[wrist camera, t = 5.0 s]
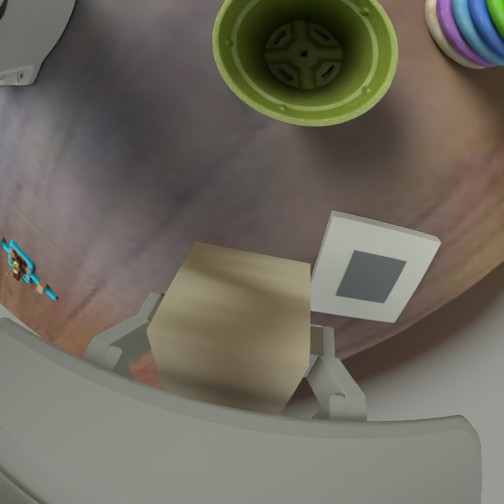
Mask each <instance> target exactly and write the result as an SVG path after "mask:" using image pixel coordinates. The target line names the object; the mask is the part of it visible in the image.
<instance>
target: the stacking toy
mask: <svg viewBox="0 0 504 504" xmlns="http://www.w3.org/2000/svg"><path fill="white" fill-rule="evenodd" d="M425 18H426V22H427V26H428V28H429V31H430V33H431V35H432V37H433V38H434V40H435V41H436V43H437V44H438V45H439V47H440V48H441V49H442V50H443V51H444V52H445V53H446V54H447V55H448V56H449V57H450V58H451V59H453V60H454V61H456V62H457V63H459V64H461V65H463V66H465V67H468V68H472V69H484V68H487V67H496V66H498V65H500V66H504V0H426V3H425Z"/></svg>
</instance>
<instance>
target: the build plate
mask: <svg viewBox="0 0 504 504" xmlns="http://www.w3.org/2000/svg"><path fill="white" fill-rule="evenodd" d="M440 244H441V242H440V240H439V239H438V237H437V236H433V235H430V234H426V233H423V232H419V231H416V230H412V229H408V228H404V227H401V226H397V225H393V224H389V223H385V222H381V221H377V220H373V219H369V218H365V217H361V216H356V215H352V214H348V213H343V212H339V211H335V210H332V211H331V214H330V217H329V221H328V224H327V227H326V231H325V234H324V237H323V240H322V244H321V247H320V250H319V253H318V256H317V259H316V262H315V265H314V268H313V271H312V274H311V277H310V281H311V311H316V312H322V313H328V314H335V315H341V316H348V317H355V318H362V319H369V320H376V321H383V322H391V323H395V321H396V320H397V318H398V317H399V315H400V314H401V312H402V310H403V309H404V307H405V306H406V304H407V303H408V301H409V299H410V298H411V296H412V295H413V293H414V291H415V290H416V288H417V286H418V285H419V283H420V281H421V279H422V278H423V276H424V274H425V272H426V271H427V269H428V267H429V265H430V263H431V262H432V260H433V258H434V256H435V254H436V252H437V250H438V248H439V246H440Z"/></svg>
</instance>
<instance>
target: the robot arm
mask: <svg viewBox="0 0 504 504" xmlns="http://www.w3.org/2000/svg"><path fill="white" fill-rule="evenodd" d="M74 4H75V0H0V85H30V84H32V83H33V82H34V80H35V79H36V76H37V74H38V72H39V69H40V66H41V64H42V62H43V60H44V59H45V57H46V56H47V55H48V54H49V52H50V51H51V50H52V48H53V47H54V46H55V44H56V43H57V41H58V40H59V38H60V36H61V35H62V33H63V31H64V29H65V27H66V25H67V23H68V21H69V18H70V16H71V13H72V10H73V7H74ZM164 296H165V294H163V293H159V292H155V291H152V292H150V293H149V295H148V297H147V298H146V300H145V302H144V303H143V305H142V307H141V309H140V310H139V312H138V314H137V316H134V315H133V316H131V317H130V318H128V319H126V320H124V321H122V322H120V323H119V324H117V325H115V326H113V327H111V328H109V329H108V330H106V331H104V332H102V333H100V334H98V335H97V336H95V337H93V339H92V341H91V342H90V344H89V346H88V347H87V349H86V351H85V352H84V354H83V356H82V358H80V357H78V356H76V355H74V354H72V353H70V352H68V351H66V350H64V349H62V348H60V347H58V346H56V345H54V344H52V343H50V342H48V341H46V340H44V339H43V338H41V337H39V336H37V335H35V334H34V333H32V332H30V331H28V330H27V329H25V328H24V327H22V326H20V325H19V324H17V323H15V322H14V321H12V320H11V319H9V318H6V317H4V318H0V504H480V502H481V490H482V456H481V444H480V439H479V435H478V433H477V432H476V430H475V429H474V428H473V426H472V425H471V424H470V423H469V421H468V420H467V419H466V418H465V417H464V416H462V415H454V416H447V417H440V418H430V419H419V420H405V421H373V422H372V421H367V414H366V397H365V395H364V394H363V392H362V391H361V389H360V388H359V387H358V385H357V384H356V382H355V381H354V380H353V378H352V377H351V375H350V374H349V373H348V371H347V370H346V368H345V367H344V366H343V364H342V363H341V361H340V360H339V359H338V358H335V343H334V329H333V328H332V327H326V326H320V325H313V324H310V360H309V367H308V369H307V371H306V373H305V374H304V376H303V377H307V380H308V382H309V384H310V386H311V388H312V390H313V391H314V393H315V395H316V397H317V399H318V401H319V403H320V405H321V408H320V409H319V410H318V412H317V413H316V414H315V415H314V416H313V417H312V419H307V418H298V417H290V416H282V415H275V414H268V413H261V412H256V411H250V410H244V409H239V408H234V407H229V406H225V405H220V404H216V403H211V402H207V401H203V400H199V399H195V398H192V397H188V396H184V395H181V394H177V393H174V392H170V391H167V390H164V389H161V388H157V387H154V386H151V385H148V384H145V383H143V382H140V381H137V380H134V377H133V375H132V372H131V370H130V368H129V366H131V365H132V364H133V363H135V362H136V361H137V360H139V359H140V358H141V357H143V356H144V355H145V354H147V353H148V352H149V351H150V350H151V346H150V342H149V339H148V335H147V331H146V330H147V328H148V326H149V324H150V323H151V321H152V319H153V317H154V315H155V313H156V311H157V309H158V307H159V305H160V303H161V301H162V300H163V298H164Z"/></svg>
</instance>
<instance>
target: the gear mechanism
mask: <svg viewBox="0 0 504 504" xmlns="http://www.w3.org/2000/svg"><path fill="white" fill-rule="evenodd" d="M2 246H3V248H4V249H5V250H6V251H7V252H8V253H9V254H8V262H9V264H10V265H11V266H12V268H11V269H10V270H9V271H8V272H7V273H6V276H7V275H8V274H9V273H10V272H11V271H12V270H13V271H14V275H13V277H14V278H15V279H16V280H17V281H19V280H20V276H21V277H22V278H23V279H24V280H25V281H26V282H27V283H29V282H30V281H31V278H32V279H33V280H34V281H35V282H36V283H37V284H38V287H37V291H38V292H39V293H40V294H41V295H42V294H43V292H44V291H45V292H46V293H47V294H48V295H49V296H50V297H51V298H52V299H54V300H55V299H56V297H57V295H56V294H55V293H53V292H52V291H51V290H50V289H49V288H48V287H47V283H46V282H45V281H44V280H43V279H42V280H40V279H39V278H38V277H37V276H36V275H35V274H34V273H33V268H34V263H33V261H32V260H31V259H30V258H29V257H28V256H27V255H26V254H25V253H24V252H23V251H22V249H21V248H20V247H19V246H18V245H17V244H16V243H15V242H14V241H13V240H12V241H11V242H10V246H8V245H7V244H6V242H5V241H4V237H3V236H2V235H1V234H0V248H1V247H2ZM15 251H16V252H17V253H18V254H19V256H18V255H17V254H16V252H15ZM14 257H15V258H14ZM14 259H15V260H14ZM24 261H25V262H26V264H27V265H26V264H25V263H24ZM22 268H24V269H25V271H26V272H25V271H24V270H23V269H22Z"/></svg>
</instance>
